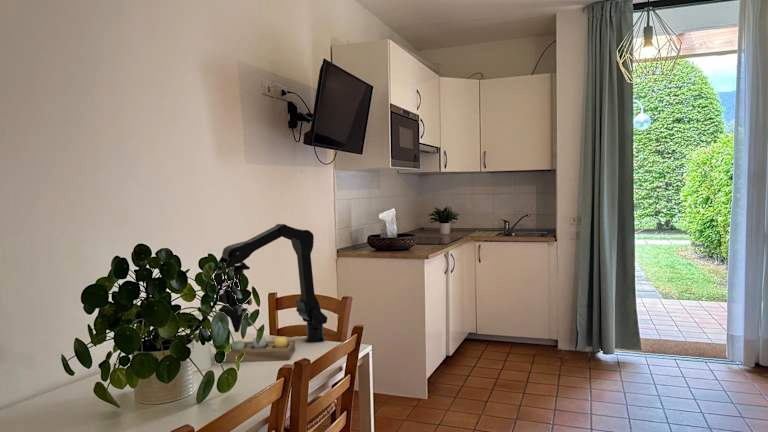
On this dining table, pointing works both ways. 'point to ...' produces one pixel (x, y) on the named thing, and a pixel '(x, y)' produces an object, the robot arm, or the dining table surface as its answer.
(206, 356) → the cup
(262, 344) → the button slate
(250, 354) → the brown button tray
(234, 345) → the button sage
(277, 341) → the button amber
